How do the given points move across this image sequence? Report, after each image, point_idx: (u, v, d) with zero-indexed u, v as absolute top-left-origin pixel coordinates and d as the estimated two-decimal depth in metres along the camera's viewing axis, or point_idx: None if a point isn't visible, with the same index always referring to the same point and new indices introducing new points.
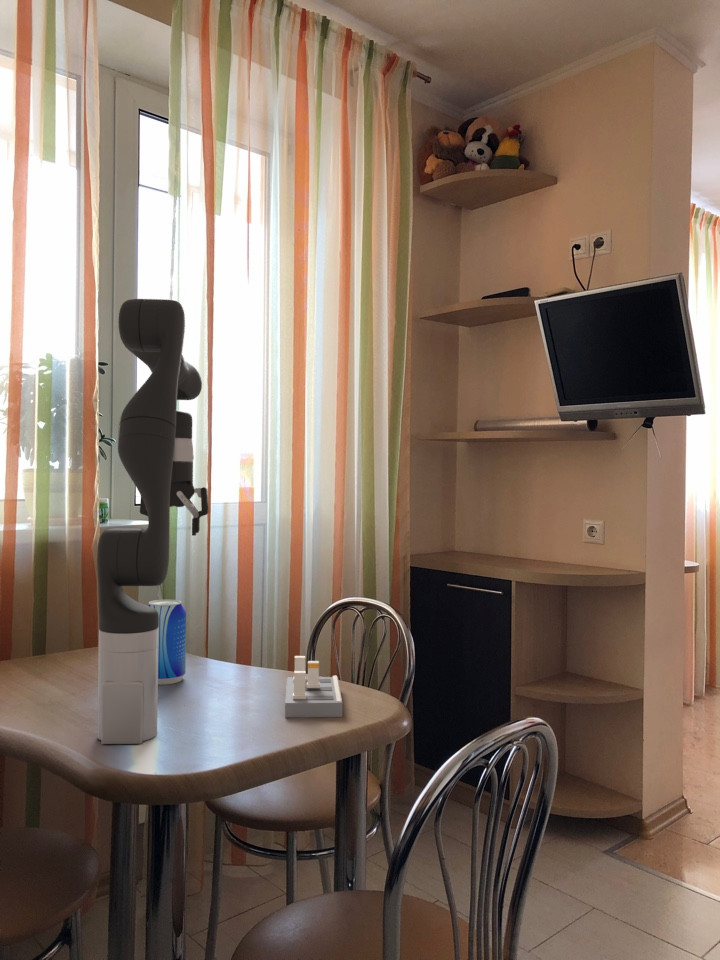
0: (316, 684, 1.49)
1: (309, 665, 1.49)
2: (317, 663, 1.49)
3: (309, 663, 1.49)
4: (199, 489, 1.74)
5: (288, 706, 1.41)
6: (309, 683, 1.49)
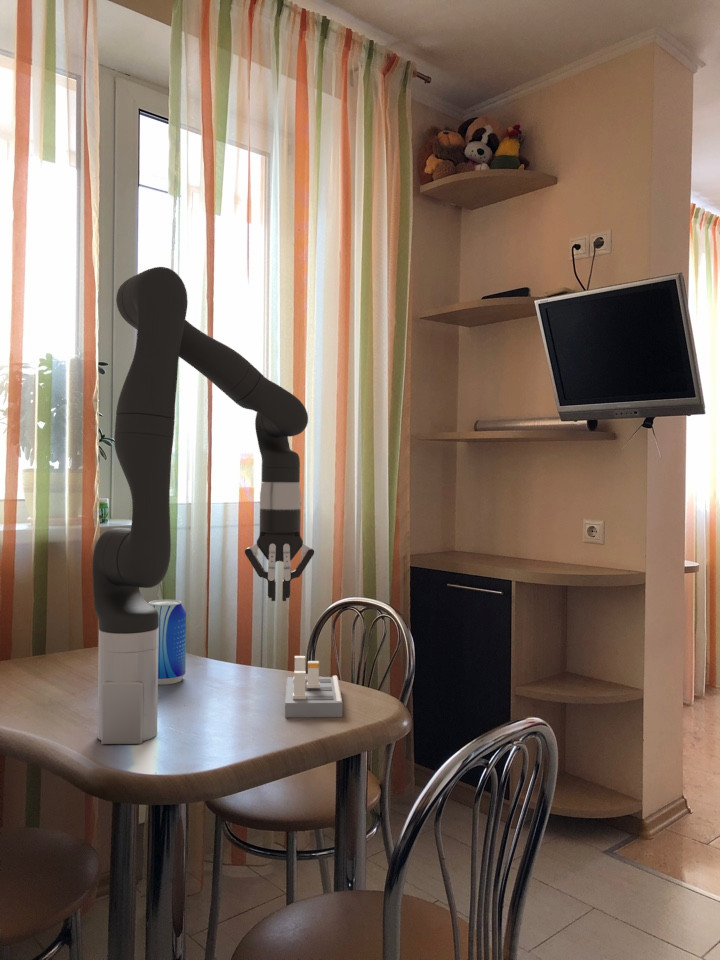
0: (316, 684, 1.49)
1: (309, 665, 1.49)
2: (317, 663, 1.49)
3: (309, 663, 1.49)
4: (307, 548, 1.49)
5: (288, 706, 1.41)
6: (309, 683, 1.49)
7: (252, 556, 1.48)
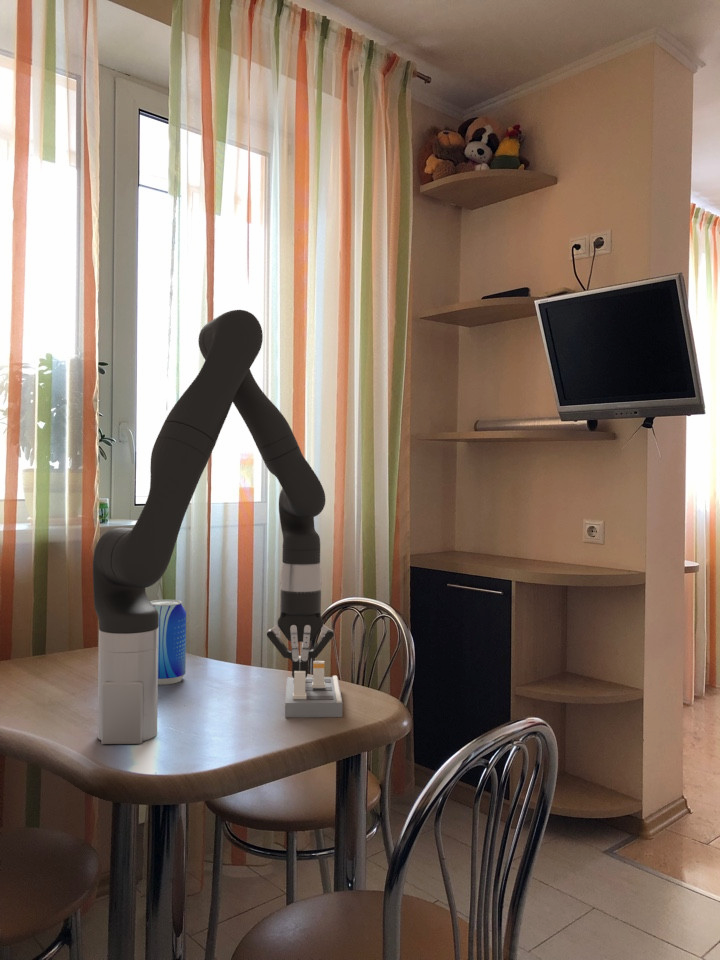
0: (322, 684, 1.49)
1: (315, 665, 1.49)
2: (322, 663, 1.49)
3: (315, 663, 1.49)
4: (327, 629, 1.50)
5: (288, 706, 1.41)
6: (315, 683, 1.49)
7: (275, 638, 1.48)
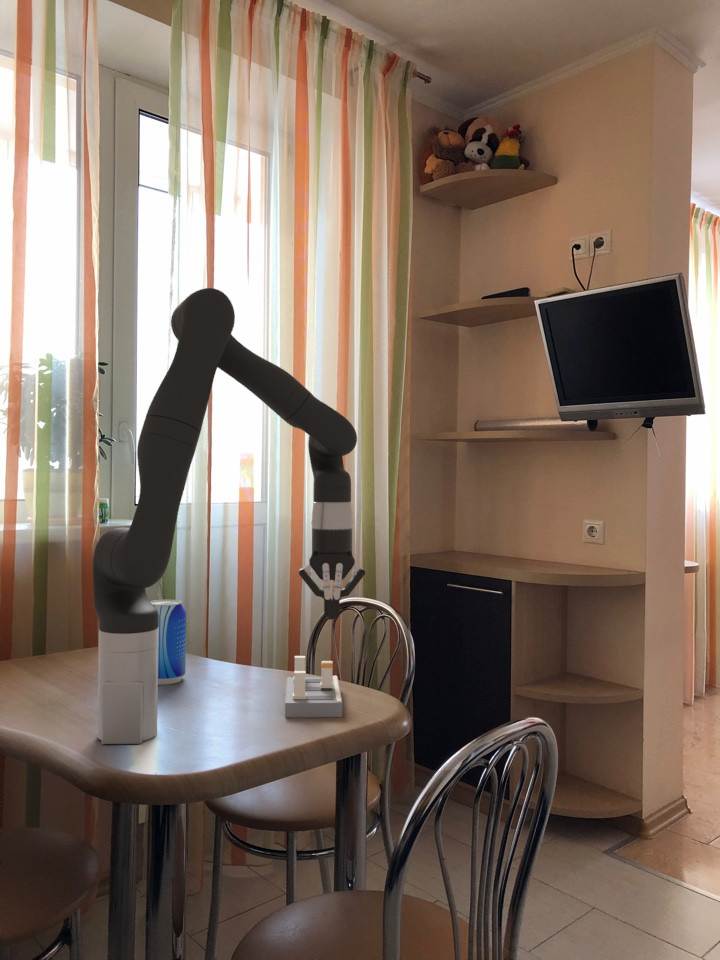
0: (330, 684, 1.49)
1: (323, 665, 1.49)
2: (331, 663, 1.49)
3: (323, 663, 1.49)
4: (358, 568, 1.50)
5: (288, 706, 1.41)
6: (323, 683, 1.49)
7: (307, 576, 1.49)
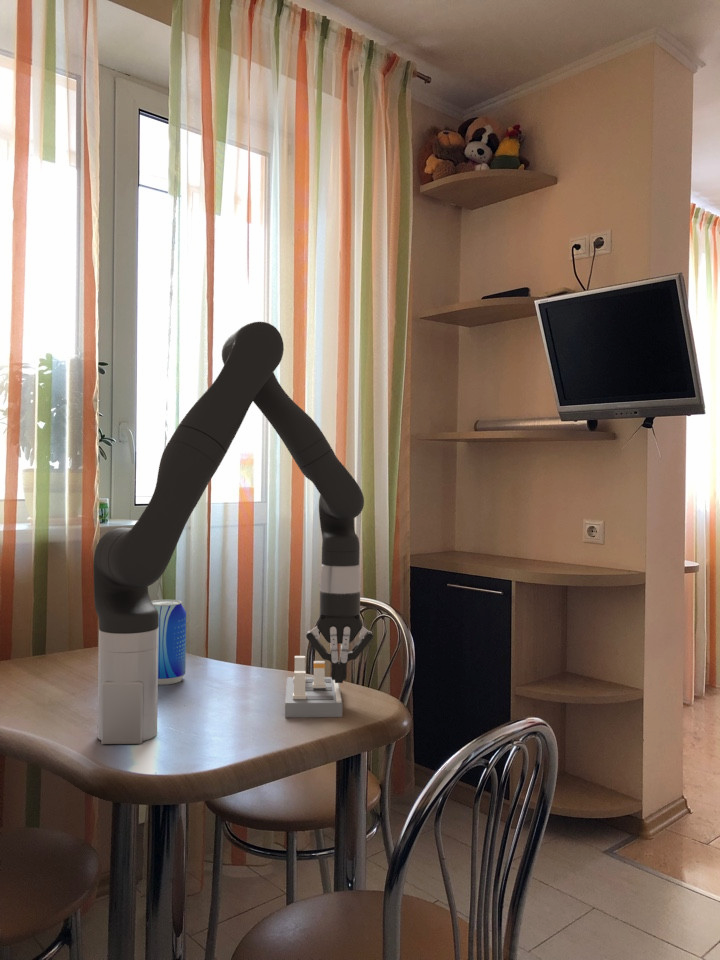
0: (322, 684, 1.49)
1: (315, 665, 1.49)
2: (323, 663, 1.49)
3: (315, 663, 1.49)
4: (366, 631, 1.50)
5: (288, 706, 1.41)
6: (315, 683, 1.49)
7: (314, 640, 1.49)
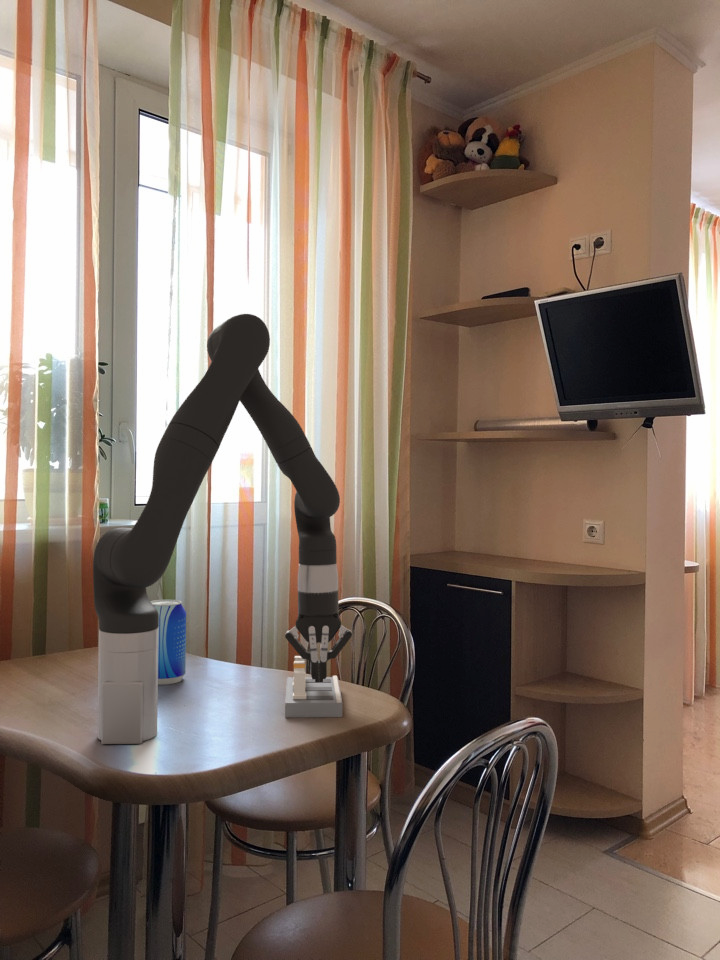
0: None
1: (295, 665, 1.49)
2: (303, 663, 1.49)
3: (295, 663, 1.49)
4: (345, 630, 1.50)
5: (288, 706, 1.41)
6: None
7: (293, 640, 1.48)
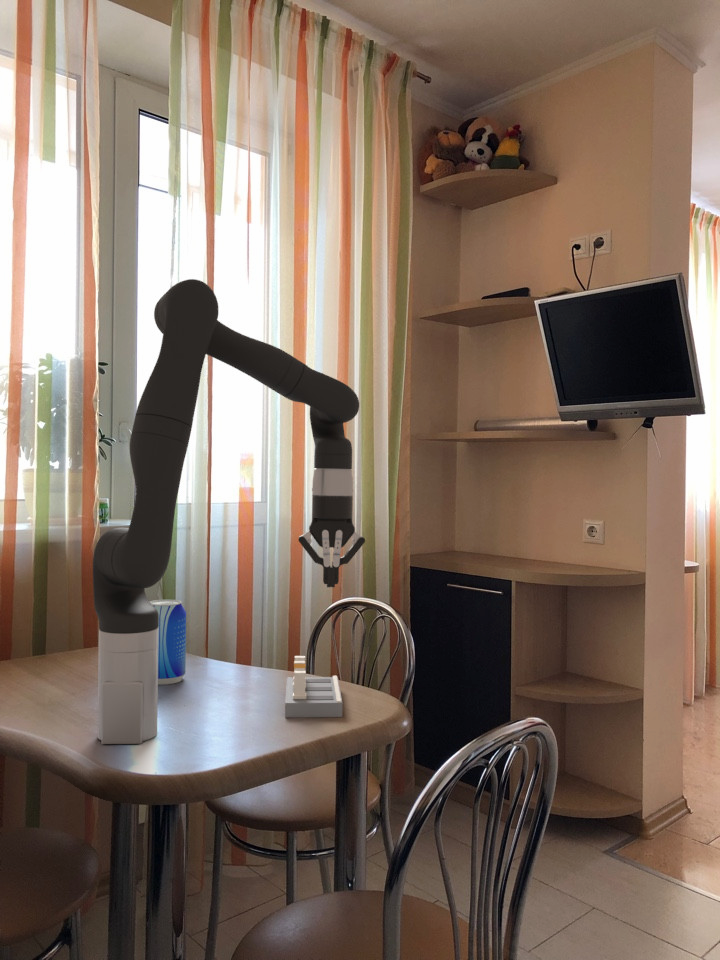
0: None
1: (295, 665, 1.49)
2: (303, 663, 1.49)
3: (295, 663, 1.49)
4: (358, 536, 1.50)
5: (288, 706, 1.41)
6: None
7: (306, 543, 1.48)
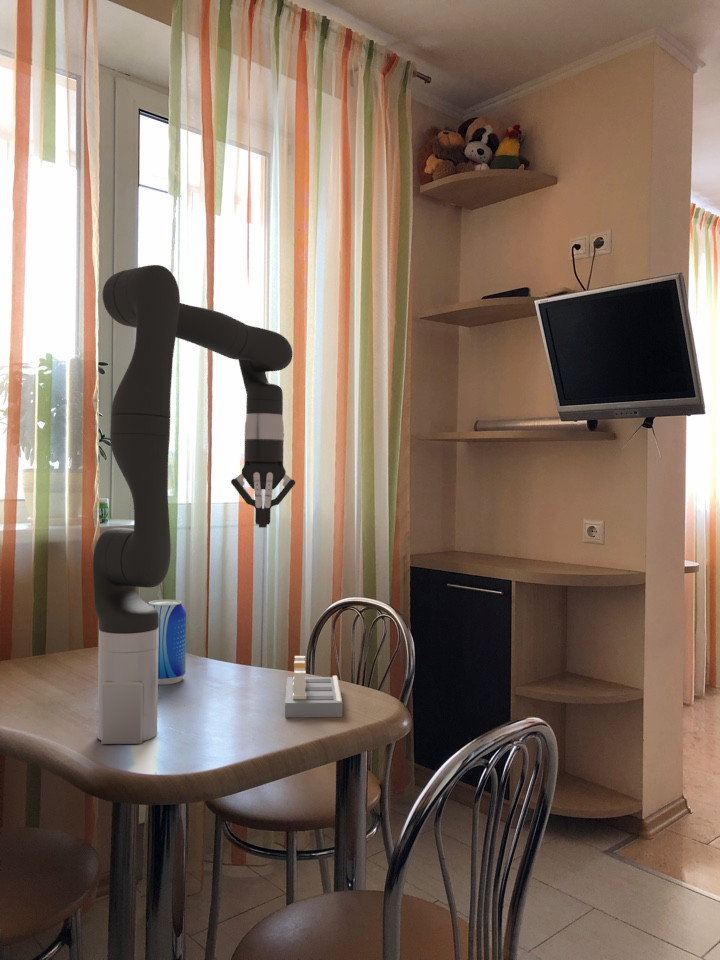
0: None
1: (295, 665, 1.49)
2: (303, 663, 1.49)
3: (295, 663, 1.49)
4: (289, 478, 1.57)
5: (288, 706, 1.41)
6: None
7: (239, 485, 1.55)
